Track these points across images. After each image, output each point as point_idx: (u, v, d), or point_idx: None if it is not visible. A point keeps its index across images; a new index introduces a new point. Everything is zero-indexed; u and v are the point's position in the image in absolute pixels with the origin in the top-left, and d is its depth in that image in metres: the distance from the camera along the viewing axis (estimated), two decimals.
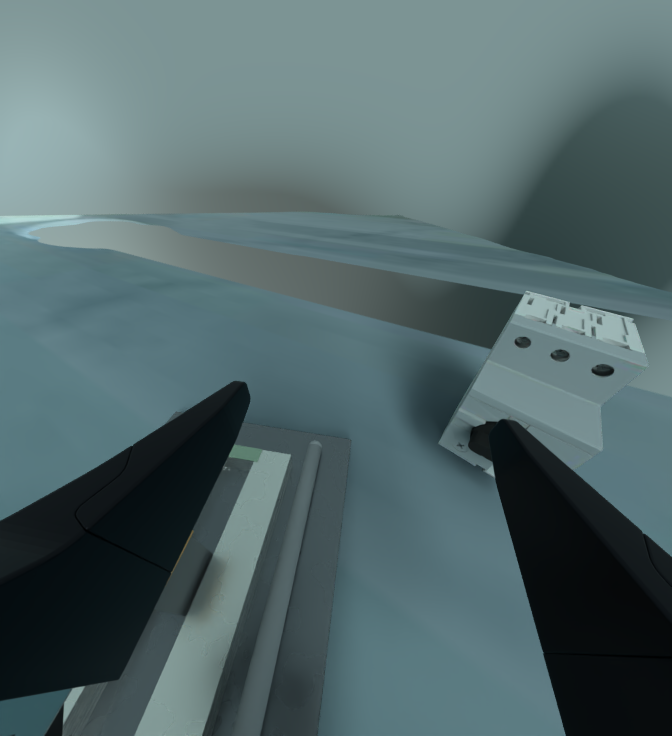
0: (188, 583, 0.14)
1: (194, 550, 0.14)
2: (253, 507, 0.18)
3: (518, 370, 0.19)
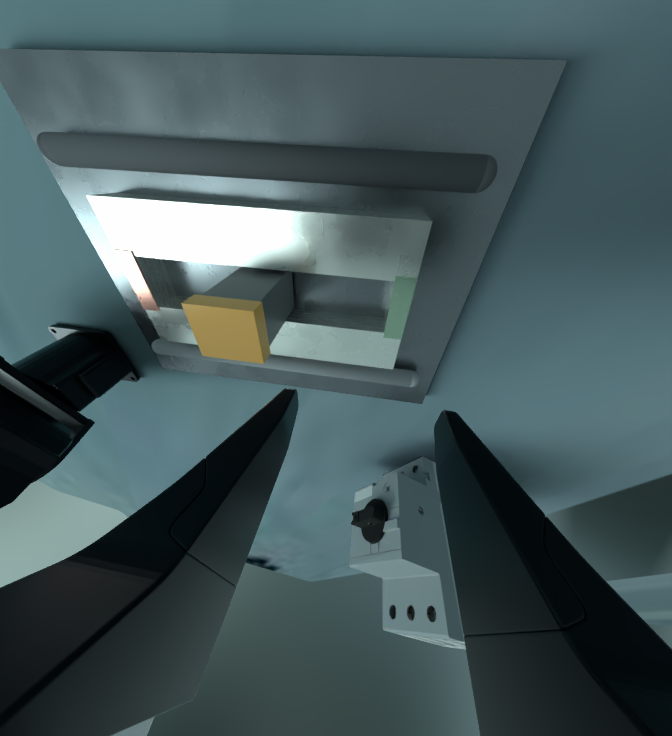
0: None
1: None
2: (331, 344, 0.17)
3: (420, 578, 0.22)
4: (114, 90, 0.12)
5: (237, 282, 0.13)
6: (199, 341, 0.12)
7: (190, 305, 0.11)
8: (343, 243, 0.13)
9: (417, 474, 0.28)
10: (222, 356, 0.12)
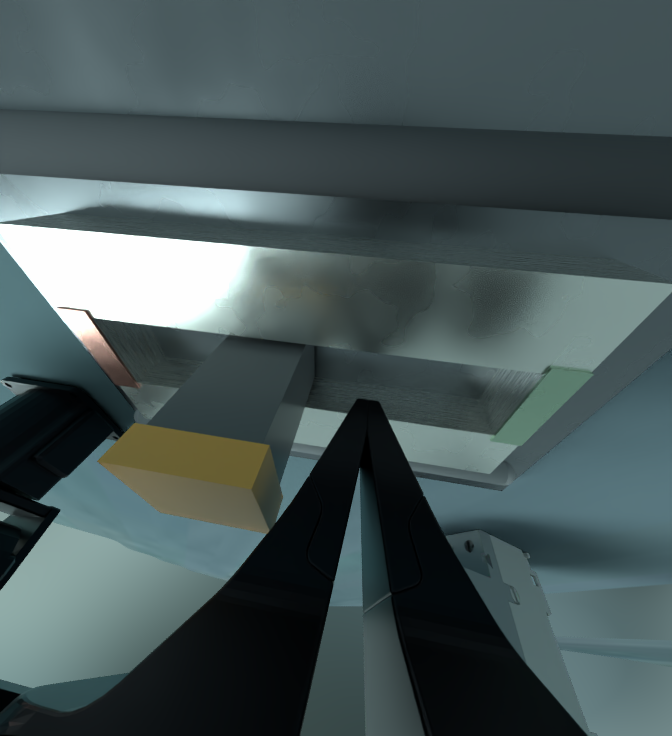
0: None
1: None
2: (400, 441, 0.11)
3: None
4: (26, 17, 0.06)
5: (224, 374, 0.07)
6: (150, 500, 0.06)
7: (118, 466, 0.05)
8: (467, 314, 0.07)
9: (473, 555, 0.23)
10: (195, 518, 0.07)
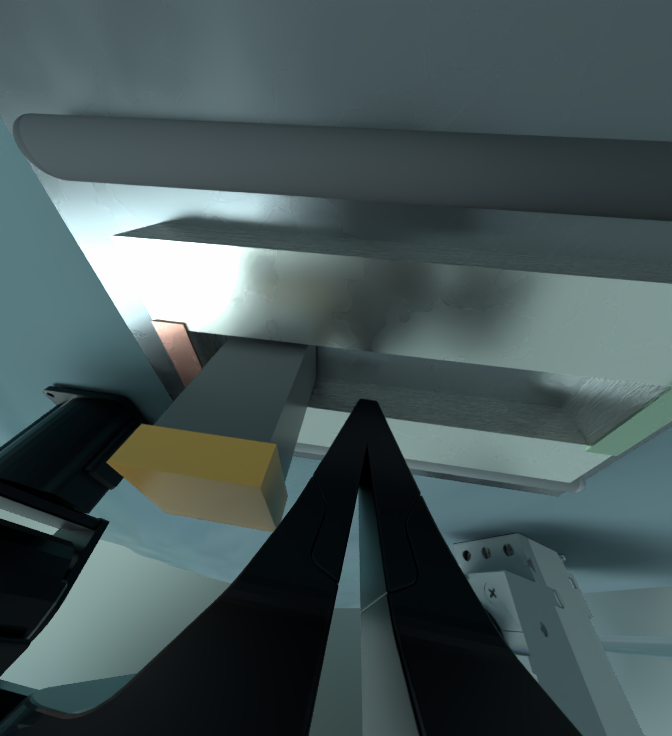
0: None
1: None
2: (484, 451, 0.11)
3: None
4: (175, 23, 0.05)
5: (228, 374, 0.07)
6: (156, 501, 0.06)
7: (126, 467, 0.05)
8: (608, 328, 0.07)
9: (514, 559, 0.23)
10: (201, 518, 0.07)
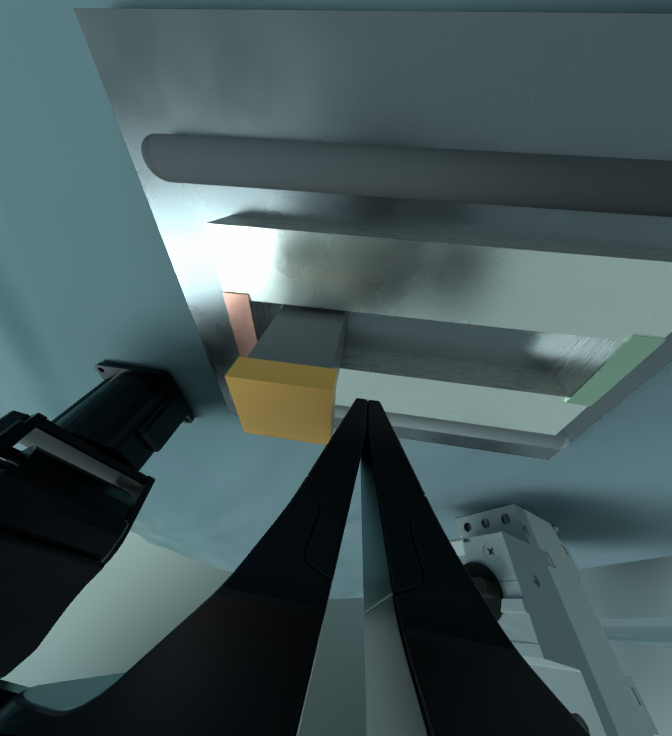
0: None
1: None
2: (483, 406, 0.13)
3: (547, 670, 0.18)
4: (268, 72, 0.08)
5: (289, 330, 0.10)
6: (243, 417, 0.09)
7: (238, 379, 0.07)
8: (576, 293, 0.09)
9: (510, 526, 0.25)
10: (272, 434, 0.09)
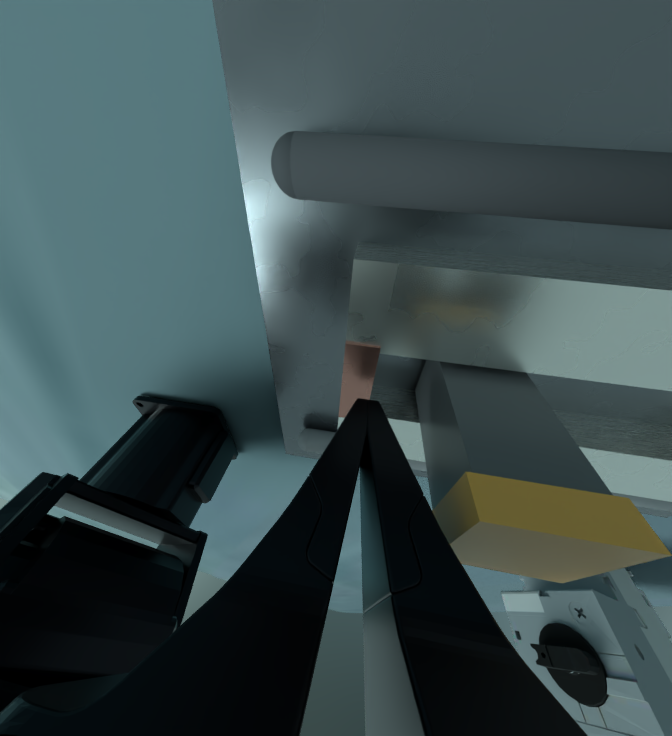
0: None
1: None
2: (645, 477, 0.10)
3: None
4: (491, 39, 0.05)
5: (484, 409, 0.07)
6: None
7: (501, 526, 0.05)
8: None
9: None
10: (477, 565, 0.06)
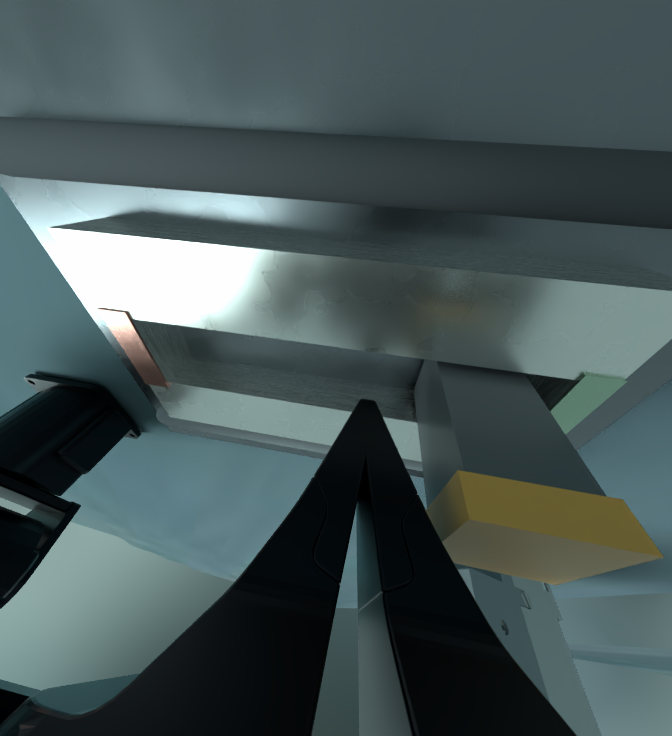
0: None
1: None
2: None
3: None
4: (93, 34, 0.06)
5: (480, 408, 0.07)
6: None
7: (490, 525, 0.05)
8: (506, 321, 0.07)
9: None
10: (470, 565, 0.06)
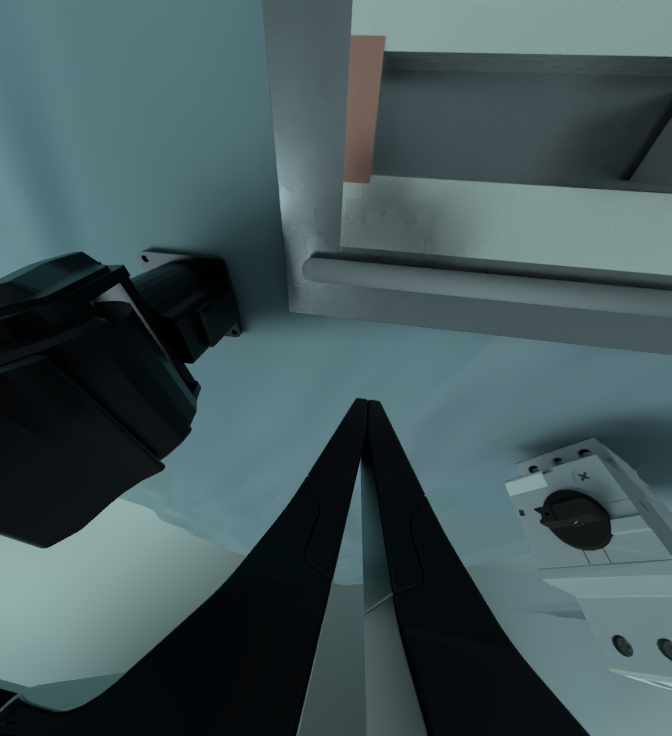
0: None
1: None
2: (648, 234, 0.10)
3: (669, 600, 0.16)
4: None
5: None
6: None
7: None
8: None
9: None
10: None
